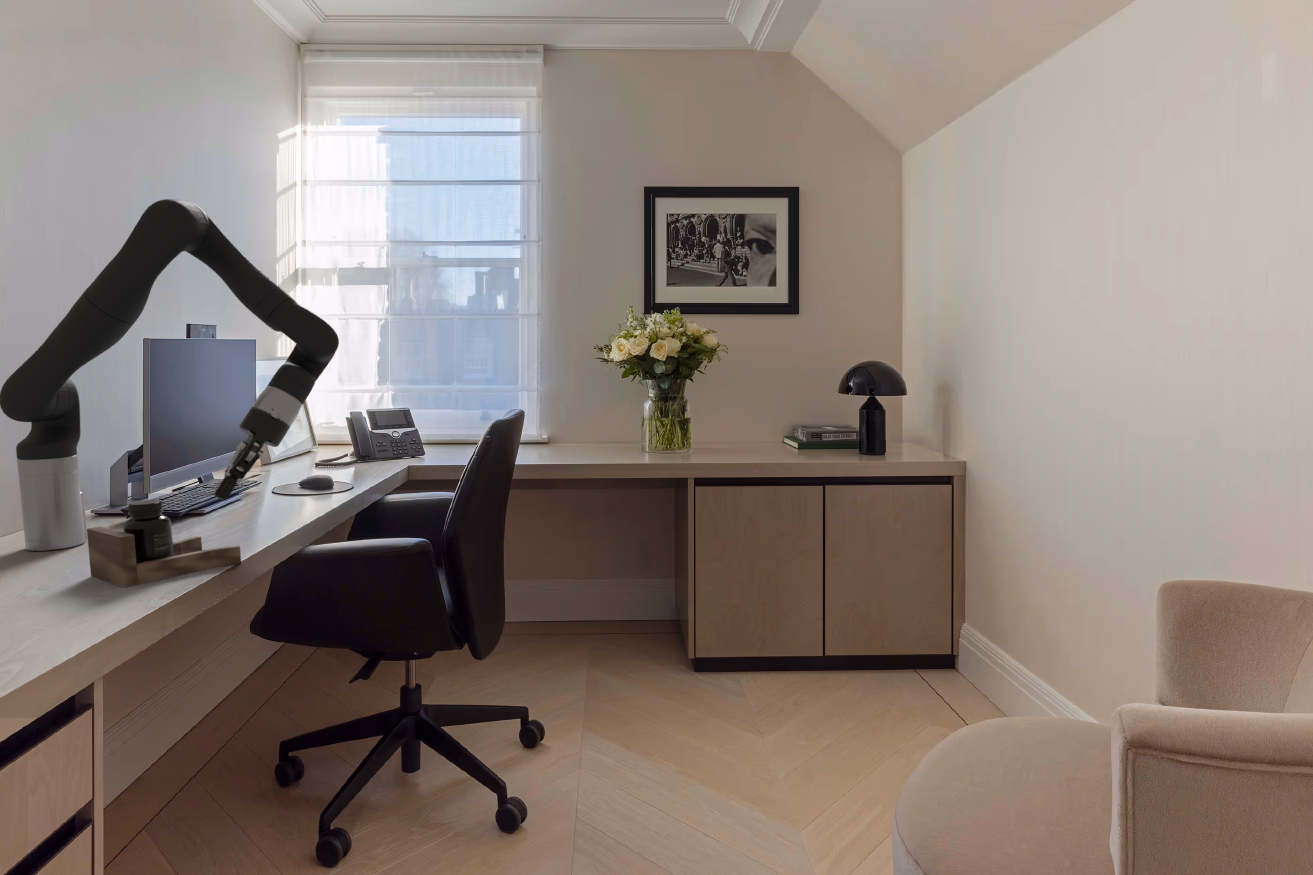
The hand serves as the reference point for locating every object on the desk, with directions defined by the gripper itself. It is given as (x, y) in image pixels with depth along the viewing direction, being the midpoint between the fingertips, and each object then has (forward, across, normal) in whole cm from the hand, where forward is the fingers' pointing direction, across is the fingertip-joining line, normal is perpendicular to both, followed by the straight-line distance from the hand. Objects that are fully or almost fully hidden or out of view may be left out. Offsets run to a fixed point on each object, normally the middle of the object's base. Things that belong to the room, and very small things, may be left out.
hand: (219, 497), depth 147 cm
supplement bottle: (+16, +4, -3) cm, 17 cm away
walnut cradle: (+14, +3, -1) cm, 15 cm away
